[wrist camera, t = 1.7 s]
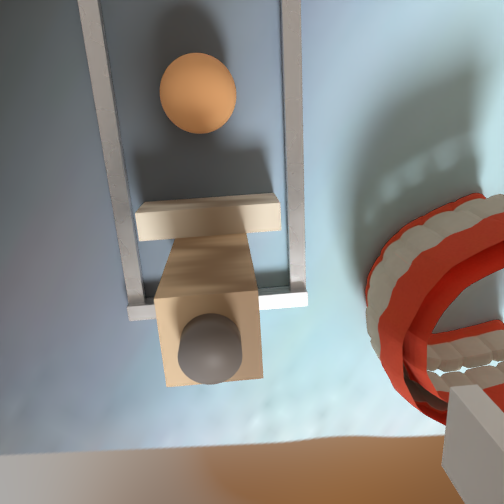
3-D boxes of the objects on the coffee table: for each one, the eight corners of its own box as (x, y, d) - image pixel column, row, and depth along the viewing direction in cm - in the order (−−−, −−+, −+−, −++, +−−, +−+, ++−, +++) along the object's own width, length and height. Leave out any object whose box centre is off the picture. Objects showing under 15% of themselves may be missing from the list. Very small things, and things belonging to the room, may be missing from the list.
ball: (169, 134, 25) (160, 138, 21) (160, 59, 23) (149, 49, 20) (237, 129, 25) (240, 133, 21) (232, 55, 23) (234, 45, 20)
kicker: (156, 285, 28) (110, 411, 16) (144, 201, 26) (82, 276, 14) (277, 275, 28) (317, 391, 16) (273, 192, 26) (315, 257, 15)
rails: (133, 312, 28) (129, 321, 27) (75, -32, 22) (67, -40, 20) (304, 298, 29) (307, 305, 27) (297, -42, 22) (301, -50, 21)
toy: (326, 232, 27) (366, 279, 20) (479, 179, 27) (581, 205, 19) (371, 383, 31) (418, 470, 24) (505, 339, 31) (597, 412, 23)
